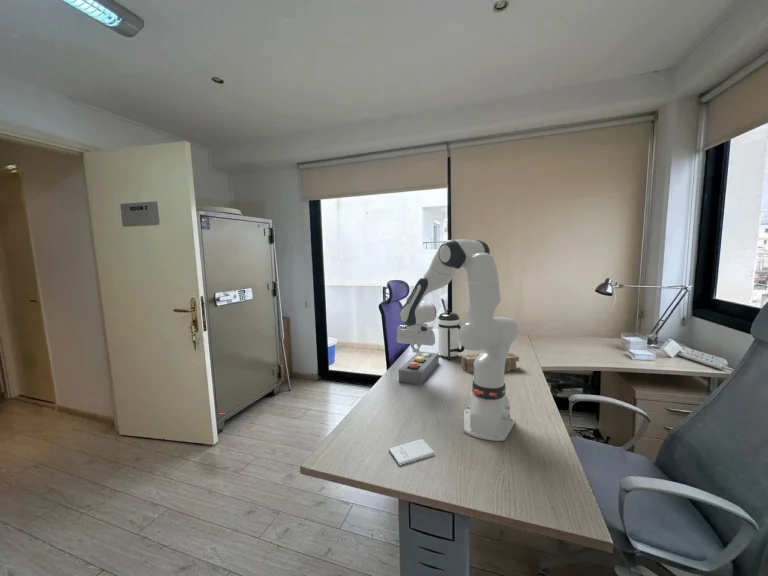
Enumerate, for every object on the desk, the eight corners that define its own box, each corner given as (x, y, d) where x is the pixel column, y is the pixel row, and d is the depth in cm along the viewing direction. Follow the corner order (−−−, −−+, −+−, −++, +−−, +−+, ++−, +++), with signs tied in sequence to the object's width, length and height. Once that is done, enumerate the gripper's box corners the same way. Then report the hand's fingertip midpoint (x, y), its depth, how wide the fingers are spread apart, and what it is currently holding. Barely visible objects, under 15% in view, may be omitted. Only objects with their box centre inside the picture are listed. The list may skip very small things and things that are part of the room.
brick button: (416, 369, 157) (416, 365, 156) (407, 368, 159) (407, 364, 159) (419, 366, 161) (419, 362, 161) (410, 365, 163) (410, 361, 163)
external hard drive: (434, 456, 99) (399, 467, 94) (422, 442, 106) (388, 452, 102) (434, 451, 99) (399, 462, 94) (421, 438, 106) (388, 447, 102)
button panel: (421, 384, 153) (421, 372, 152) (398, 381, 158) (398, 369, 157) (438, 363, 181) (438, 353, 181) (419, 361, 186) (419, 351, 186)
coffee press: (435, 360, 187) (434, 311, 184) (438, 352, 202) (437, 306, 199) (464, 362, 182) (464, 311, 179) (466, 353, 197) (465, 307, 194)
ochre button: (422, 362, 166) (422, 359, 165) (414, 361, 168) (414, 358, 168) (425, 360, 170) (425, 356, 170) (417, 359, 172) (417, 355, 172)
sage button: (428, 359, 175) (428, 356, 175) (420, 358, 177) (420, 355, 177) (430, 357, 179) (430, 353, 179) (422, 356, 181) (422, 352, 181)
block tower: (465, 374, 166) (519, 371, 166) (464, 359, 166) (519, 356, 165) (461, 369, 174) (513, 366, 174) (461, 354, 173) (513, 351, 173)
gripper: (394, 326, 161) (395, 352, 163) (432, 328, 152) (432, 356, 154) (399, 323, 167) (399, 348, 168) (435, 326, 158) (436, 352, 159)
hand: (415, 352), depth 161 cm, fingers closed
